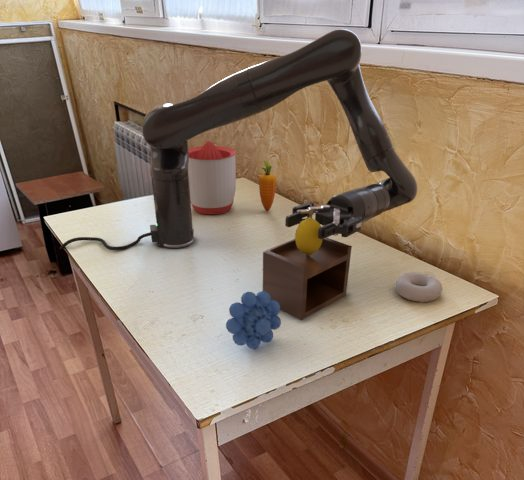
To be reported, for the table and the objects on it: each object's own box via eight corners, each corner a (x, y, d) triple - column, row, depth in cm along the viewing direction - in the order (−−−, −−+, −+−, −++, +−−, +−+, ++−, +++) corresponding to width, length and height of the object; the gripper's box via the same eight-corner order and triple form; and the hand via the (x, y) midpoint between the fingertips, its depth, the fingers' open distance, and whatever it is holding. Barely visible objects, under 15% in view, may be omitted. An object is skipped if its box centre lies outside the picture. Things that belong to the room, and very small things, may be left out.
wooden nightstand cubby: (301, 320, 100) (304, 268, 94) (262, 301, 106) (262, 251, 100) (346, 295, 109) (351, 246, 102) (307, 279, 115) (310, 231, 109)
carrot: (275, 214, 150) (276, 163, 142) (258, 214, 150) (259, 163, 142) (275, 209, 154) (276, 159, 146) (259, 209, 154) (259, 159, 146)
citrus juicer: (182, 201, 160) (176, 135, 148) (235, 200, 161) (234, 134, 150) (180, 218, 147) (174, 148, 136) (239, 216, 149) (237, 146, 137)
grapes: (241, 369, 87) (239, 310, 80) (221, 351, 91) (217, 293, 84) (293, 348, 92) (296, 290, 85) (272, 332, 97) (273, 276, 90)
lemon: (322, 261, 100) (325, 222, 95) (294, 260, 100) (296, 222, 95) (320, 250, 104) (323, 213, 100) (293, 249, 104) (295, 212, 100)
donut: (439, 308, 105) (441, 286, 112) (442, 294, 103) (445, 273, 110) (391, 300, 107) (396, 280, 115) (393, 286, 105) (399, 266, 113)
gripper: (327, 183, 109) (276, 200, 99) (382, 198, 100) (333, 218, 91) (324, 217, 113) (276, 236, 103) (377, 234, 105) (329, 256, 95)
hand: (302, 227), depth 97 cm, fingers open, 8 cm apart
